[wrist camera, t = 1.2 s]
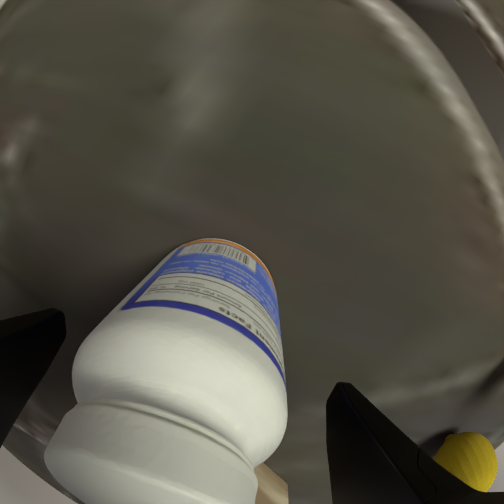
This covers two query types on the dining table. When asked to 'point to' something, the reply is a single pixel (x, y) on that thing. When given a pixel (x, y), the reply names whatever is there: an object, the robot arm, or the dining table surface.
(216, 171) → the dining table surface
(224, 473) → the pill bottle
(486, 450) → the lemon
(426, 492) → the robot arm
